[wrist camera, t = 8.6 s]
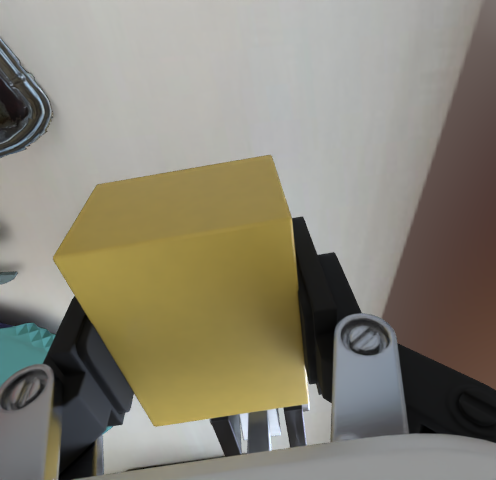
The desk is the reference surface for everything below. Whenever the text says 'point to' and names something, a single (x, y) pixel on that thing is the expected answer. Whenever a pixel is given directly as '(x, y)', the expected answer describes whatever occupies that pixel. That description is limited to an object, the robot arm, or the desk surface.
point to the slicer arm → (260, 429)
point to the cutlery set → (22, 343)
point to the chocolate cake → (20, 106)
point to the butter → (194, 288)
